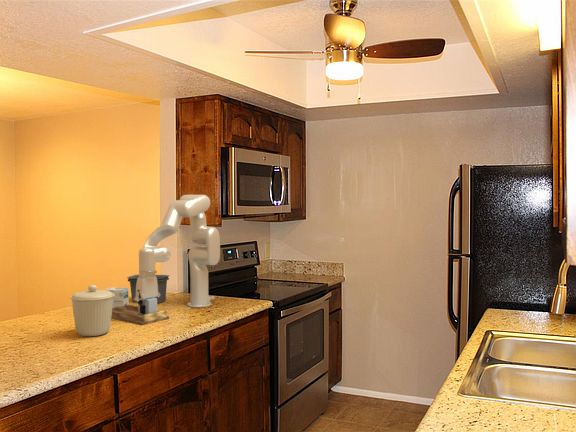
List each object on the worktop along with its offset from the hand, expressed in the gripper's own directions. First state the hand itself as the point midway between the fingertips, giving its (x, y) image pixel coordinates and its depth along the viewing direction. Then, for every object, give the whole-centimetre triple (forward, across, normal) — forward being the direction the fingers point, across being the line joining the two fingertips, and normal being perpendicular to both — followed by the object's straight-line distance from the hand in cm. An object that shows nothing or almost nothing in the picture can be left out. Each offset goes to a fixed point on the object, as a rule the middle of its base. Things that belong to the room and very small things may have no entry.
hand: (147, 312), depth 259 cm
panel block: (+1, 0, 0) cm, 1 cm away
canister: (+4, +30, +1) cm, 30 cm away
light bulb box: (+4, -7, -33) cm, 34 cm away
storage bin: (+4, -30, -35) cm, 46 cm away
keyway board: (+4, 0, -9) cm, 10 cm away
